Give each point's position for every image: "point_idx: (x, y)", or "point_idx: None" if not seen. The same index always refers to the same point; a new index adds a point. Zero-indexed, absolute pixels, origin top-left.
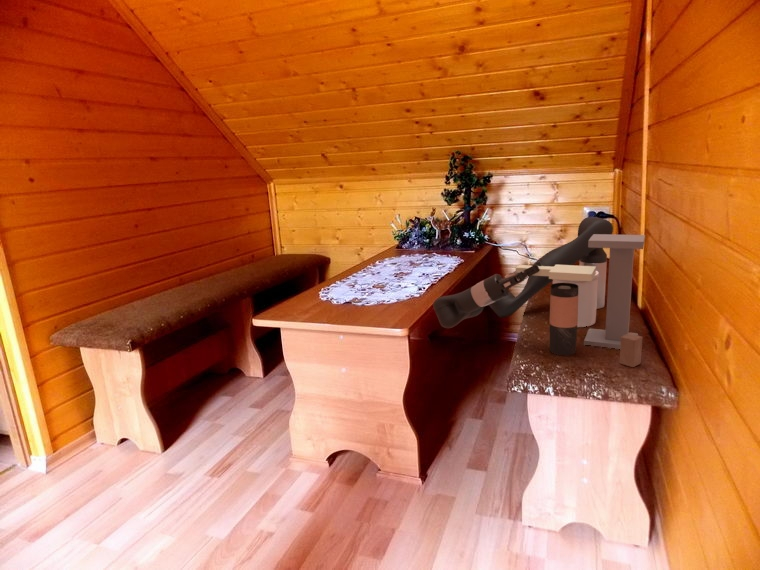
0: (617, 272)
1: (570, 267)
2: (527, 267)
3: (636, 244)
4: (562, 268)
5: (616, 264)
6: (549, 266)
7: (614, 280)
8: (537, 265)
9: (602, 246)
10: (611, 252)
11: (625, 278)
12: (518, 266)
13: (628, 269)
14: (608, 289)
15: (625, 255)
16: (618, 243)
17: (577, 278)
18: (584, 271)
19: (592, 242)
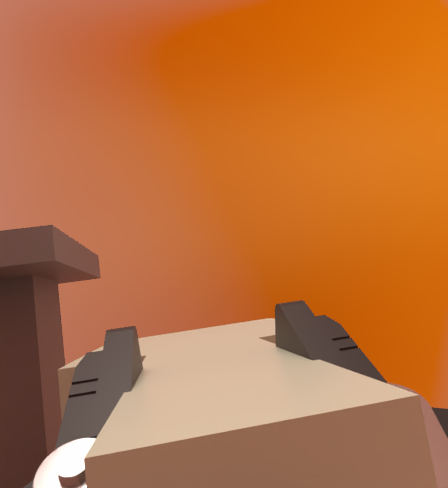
0: (51, 385)
1: (154, 344)
2: (271, 371)
3: (95, 262)
4: (194, 341)
5: (47, 351)
6: (147, 358)
7: (52, 423)
8: (138, 370)
9: (72, 260)
10: (37, 302)
11: None
12: (270, 413)
13: (61, 364)
14: None
15: (53, 312)
16: (83, 254)
17: None
18: (229, 326)
19: (57, 237)
